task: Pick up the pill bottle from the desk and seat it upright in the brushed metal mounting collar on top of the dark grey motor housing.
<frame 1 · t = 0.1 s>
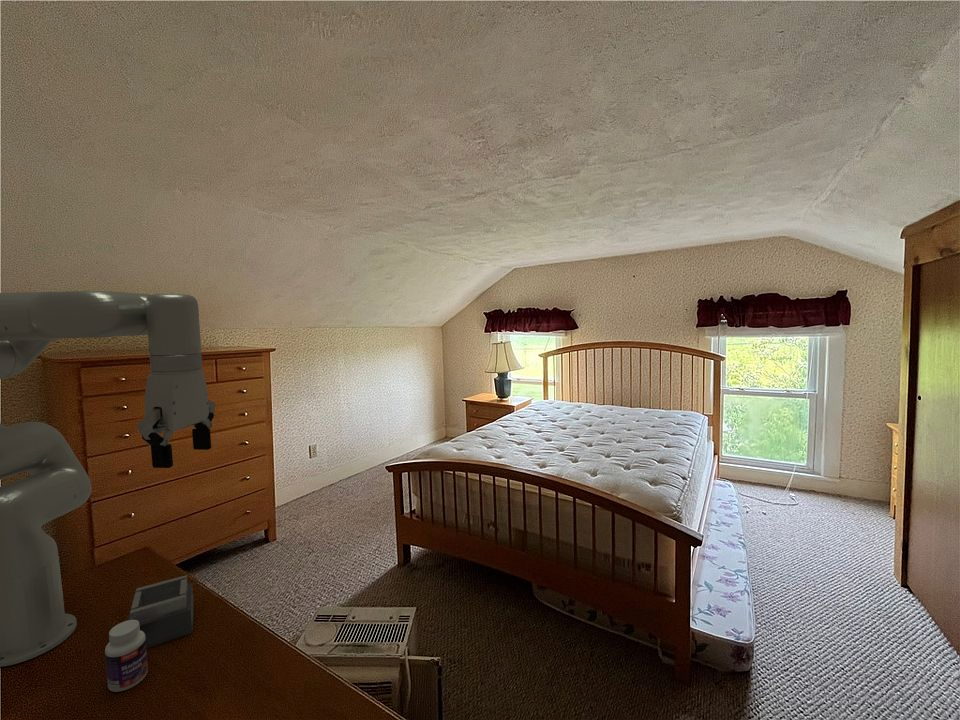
hand: (183, 457, 77), 37 cm above the table, tool pointing down, fingers open, 9 cm apart
motor housing: (163, 627, 86), on the table
pill bottle: (128, 680, 73), on the table
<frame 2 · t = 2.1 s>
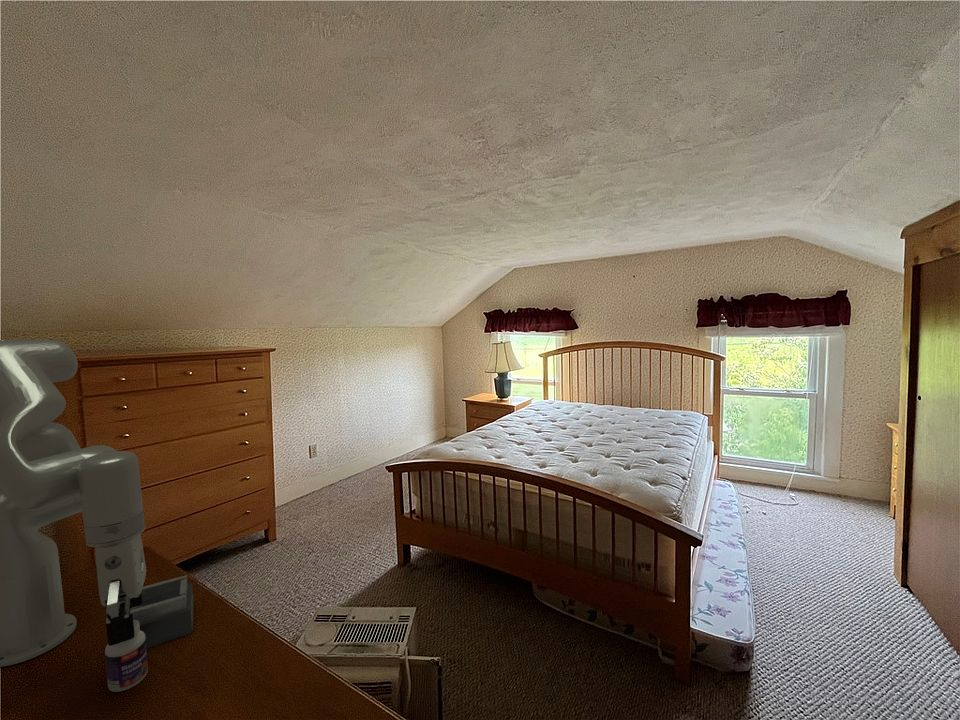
hand: (126, 623, 72), 11 cm above the table, tool pointing down, fingers open, 9 cm apart
nothing on the table moved.
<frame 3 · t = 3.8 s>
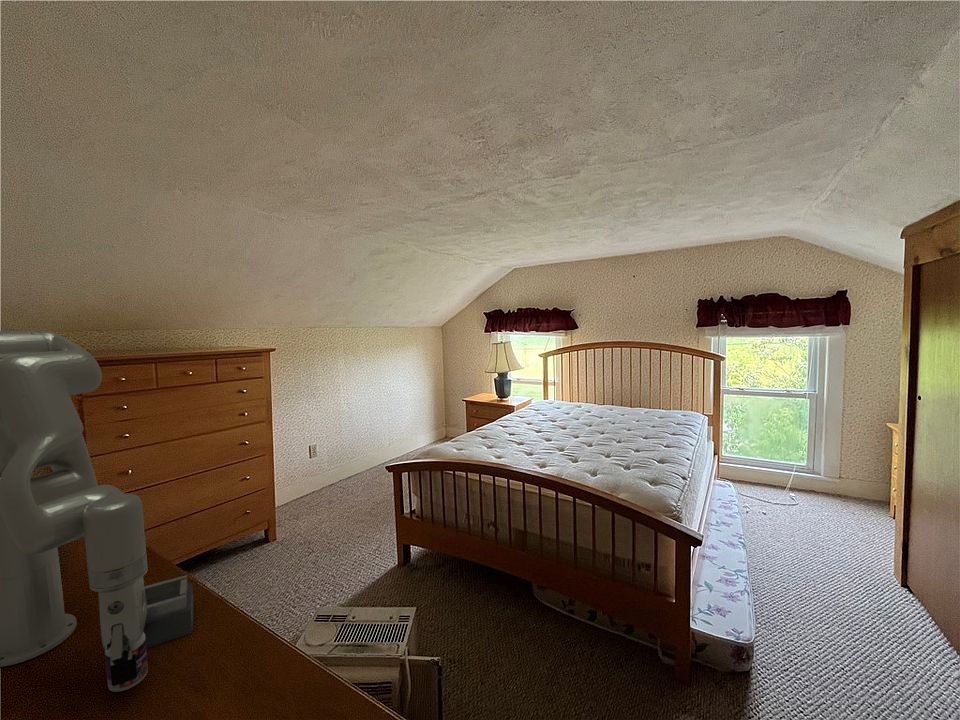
hand: (127, 667, 73), 2 cm above the table, tool pointing down, fingers closed on pill bottle, 5 cm apart
pill bottle: (128, 680, 73), on the table, touching gripper
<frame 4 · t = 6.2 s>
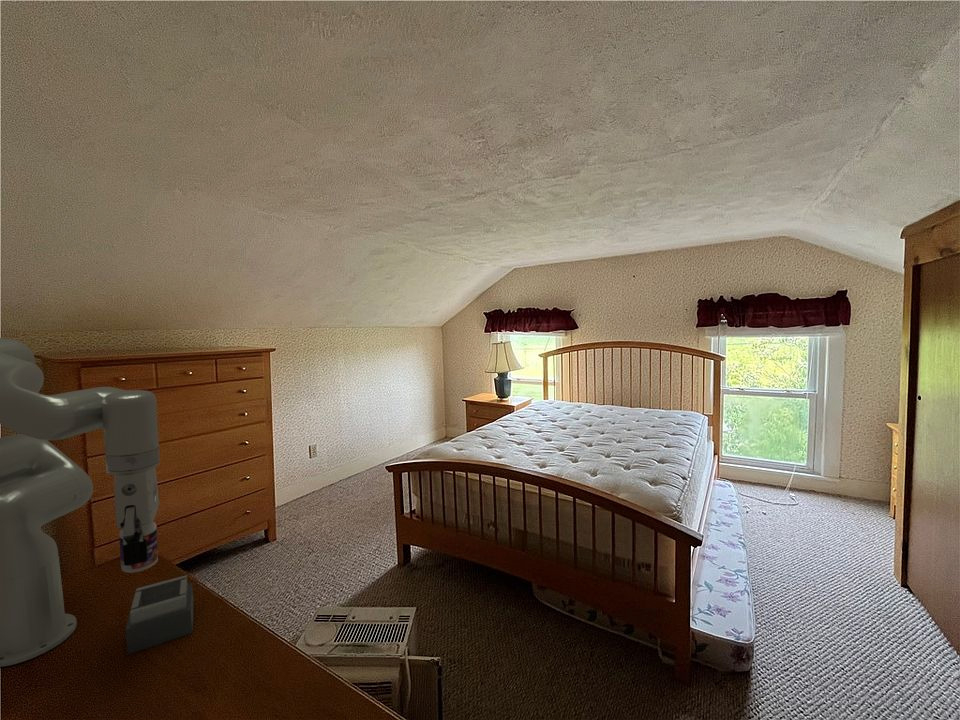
hand: (139, 553, 78), 19 cm above the table, tool pointing down, fingers closed on pill bottle, 5 cm apart
pill bottle: (140, 566, 79), point 17 cm above the table, touching gripper
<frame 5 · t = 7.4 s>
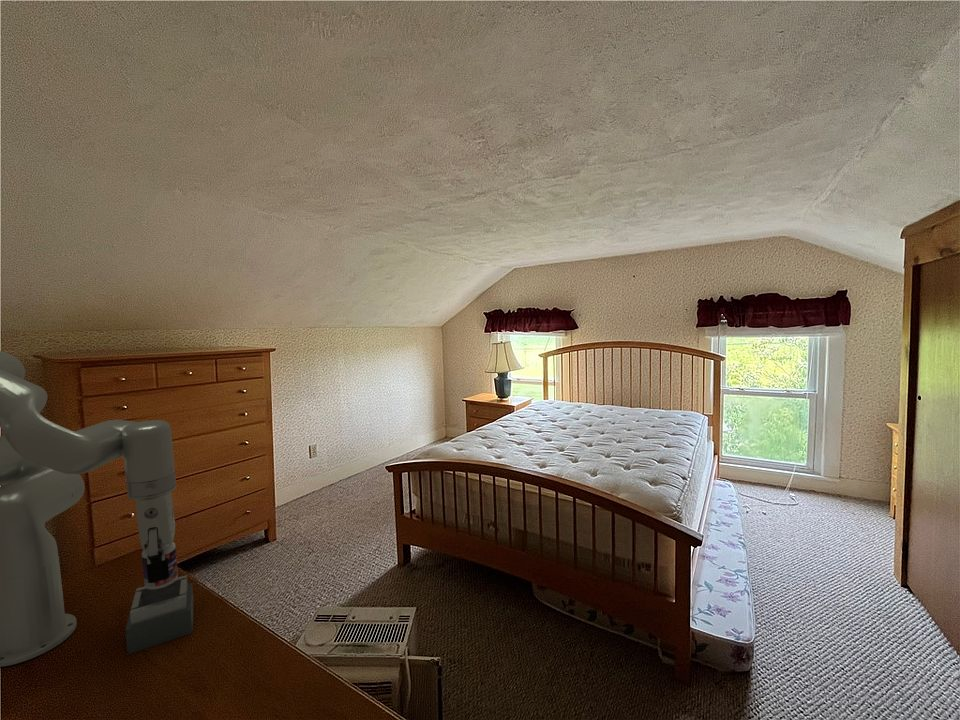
hand: (160, 571, 84), 12 cm above the table, tool pointing down, fingers closed on pill bottle, 5 cm apart
pill bottle: (162, 582, 85), point 10 cm above the table, touching gripper
when the fingers open (9 cm above the table, at t = 8.4 s): pill bottle drops 1 cm, resting on motor housing.
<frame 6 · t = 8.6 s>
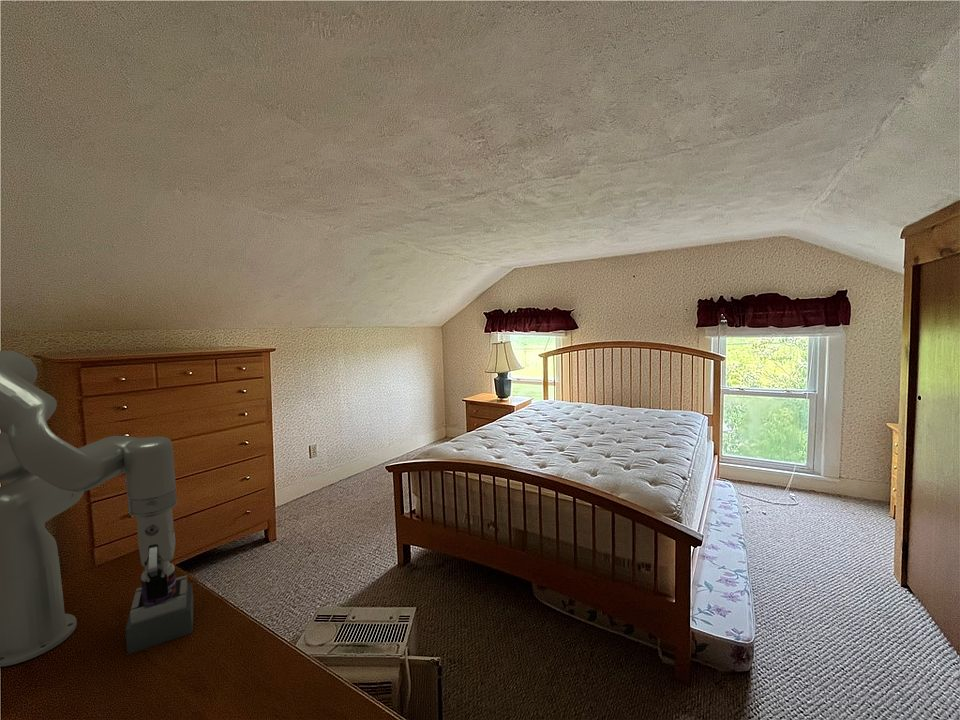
hand: (159, 585, 85), 9 cm above the table, tool pointing down, fingers open, 7 cm apart
pill bottle: (161, 605, 85), point 5 cm above the table, touching motor housing
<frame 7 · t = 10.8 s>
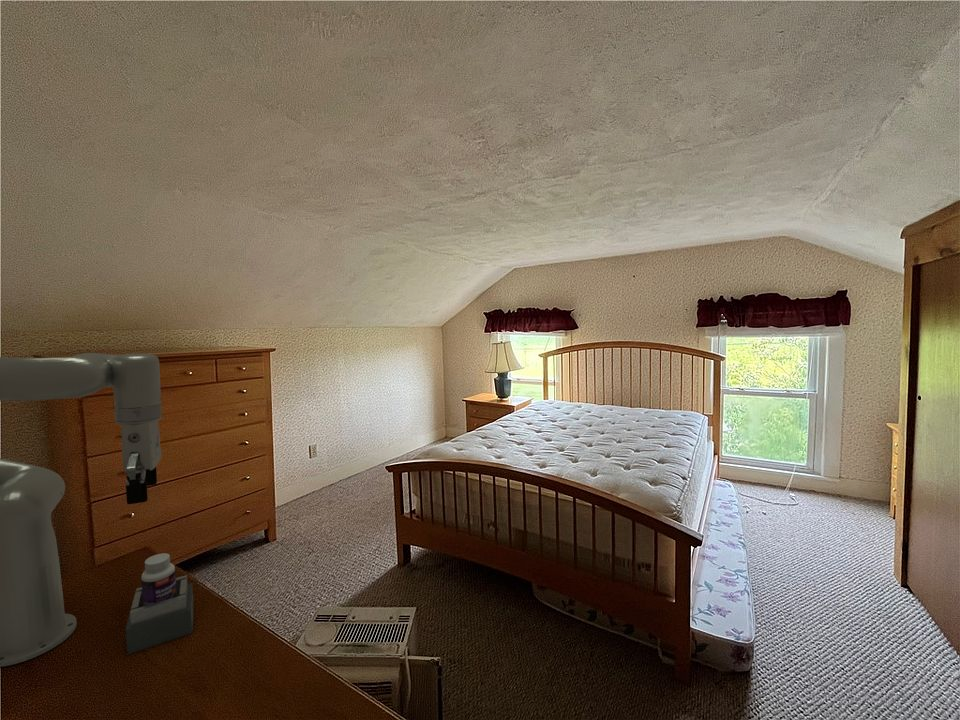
hand: (142, 493, 89), 26 cm above the table, tool pointing down, fingers open, 9 cm apart
nothing on the table moved.
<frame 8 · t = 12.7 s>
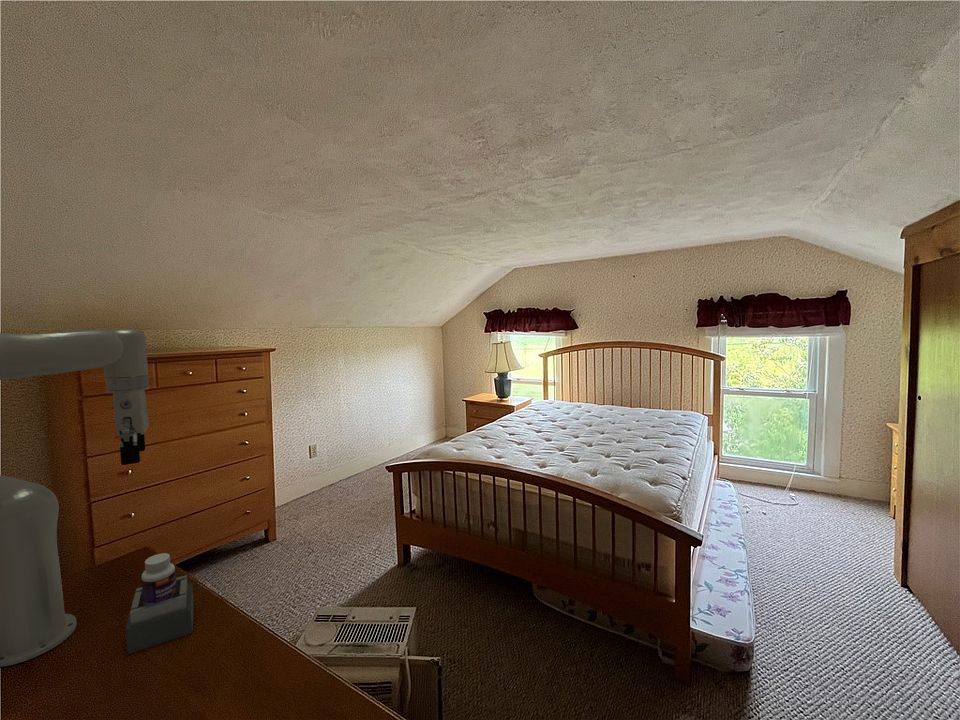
hand: (134, 457, 97), 30 cm above the table, tool pointing down, fingers open, 9 cm apart
nothing on the table moved.
at the end: pill bottle 0.1 cm off-centre on the motor housing, point 4.8 cm above the motor housing's base; pill bottle tilted 0°; the gripper is holding nothing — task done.
